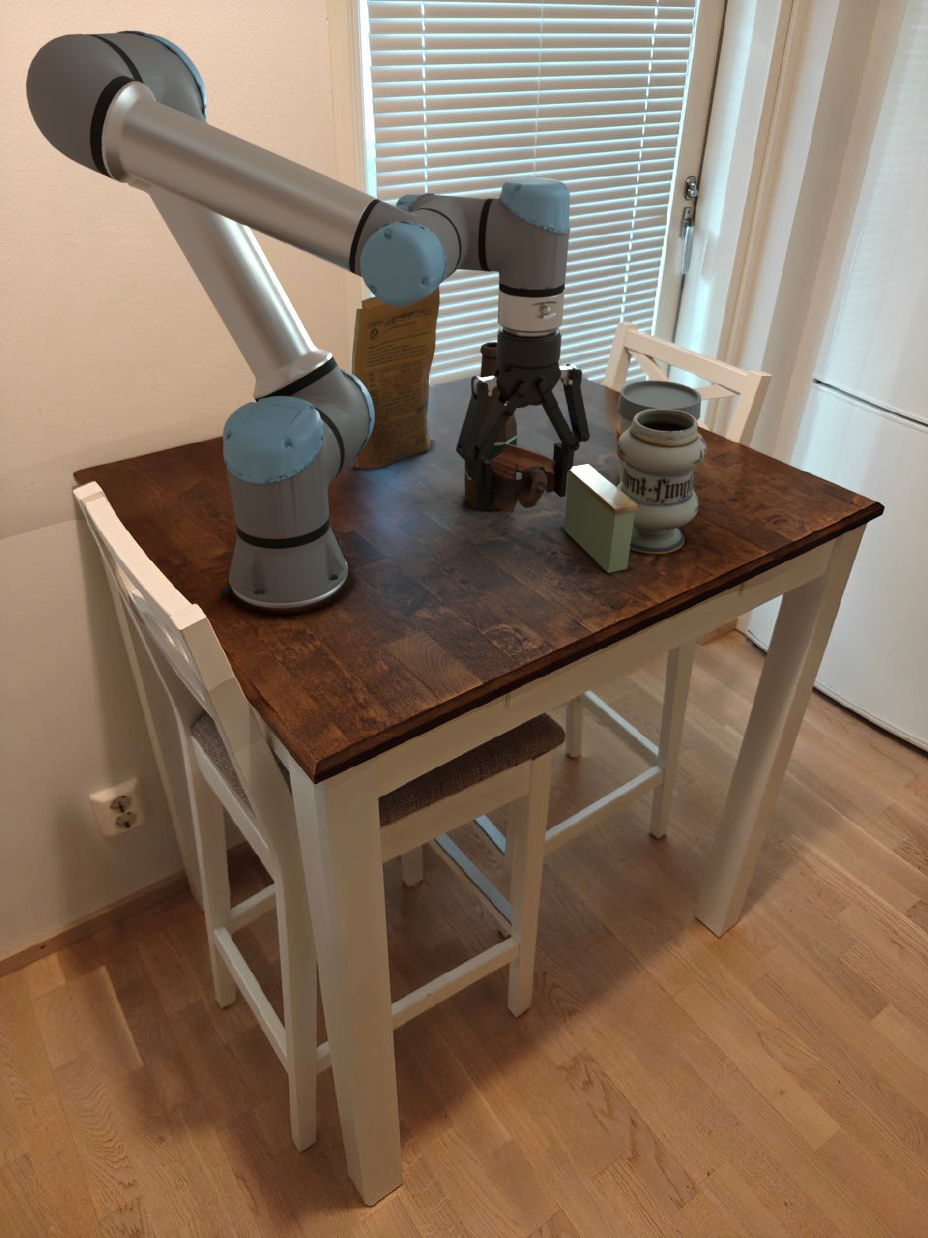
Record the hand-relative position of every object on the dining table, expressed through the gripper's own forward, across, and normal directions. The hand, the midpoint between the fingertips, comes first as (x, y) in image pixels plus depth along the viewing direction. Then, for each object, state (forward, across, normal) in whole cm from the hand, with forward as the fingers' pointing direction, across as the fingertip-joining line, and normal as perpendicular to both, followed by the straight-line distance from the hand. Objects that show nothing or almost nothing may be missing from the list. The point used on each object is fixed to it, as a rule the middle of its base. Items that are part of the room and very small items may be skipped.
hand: (521, 499), depth 116 cm
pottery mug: (0, 0, 0) cm, 0 cm away
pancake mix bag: (+10, -4, +39) cm, 41 cm away
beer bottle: (+10, +4, +19) cm, 22 cm away
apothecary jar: (+10, +21, 0) cm, 23 cm away
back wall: (+10, +12, 0) cm, 16 cm away
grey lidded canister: (+10, +30, +15) cm, 35 cm away
